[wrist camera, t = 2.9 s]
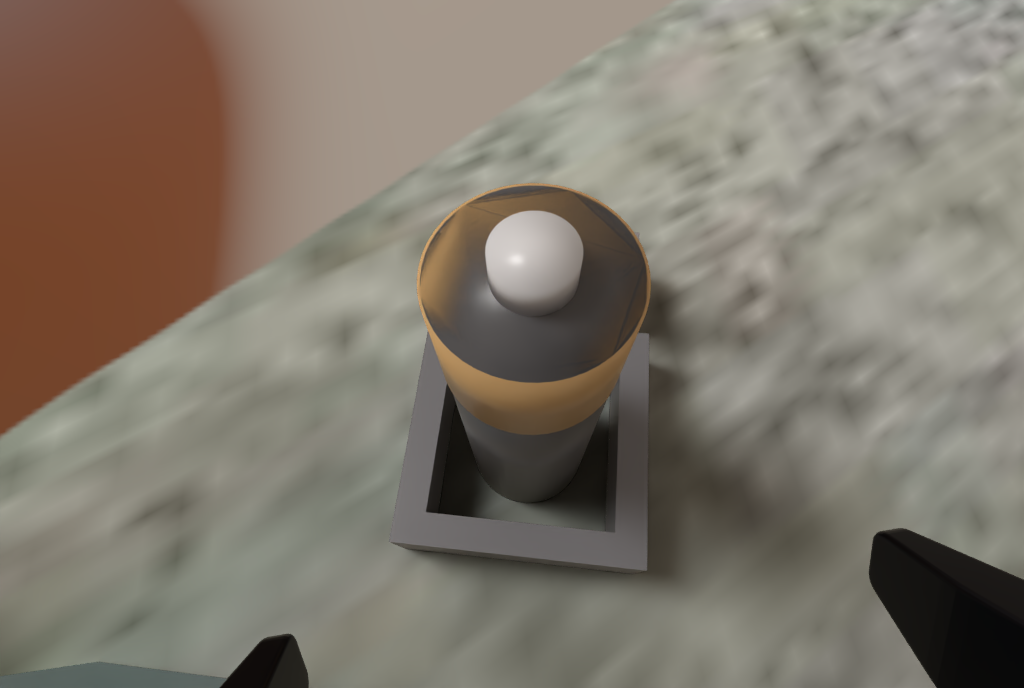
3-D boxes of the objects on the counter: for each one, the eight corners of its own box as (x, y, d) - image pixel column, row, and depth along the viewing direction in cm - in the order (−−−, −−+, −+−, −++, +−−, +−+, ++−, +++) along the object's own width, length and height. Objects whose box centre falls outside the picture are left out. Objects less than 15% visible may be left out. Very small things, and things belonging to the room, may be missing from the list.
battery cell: (585, 401, 22) (660, 161, 10) (579, 509, 20) (661, 379, 8) (481, 391, 22) (430, 146, 10) (466, 497, 21) (385, 354, 8)
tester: (637, 274, 24) (657, 221, 21) (632, 573, 19) (656, 568, 16) (454, 259, 25) (443, 204, 21) (404, 548, 20) (379, 537, 16)
